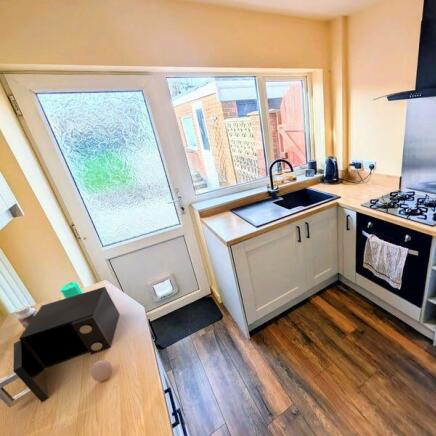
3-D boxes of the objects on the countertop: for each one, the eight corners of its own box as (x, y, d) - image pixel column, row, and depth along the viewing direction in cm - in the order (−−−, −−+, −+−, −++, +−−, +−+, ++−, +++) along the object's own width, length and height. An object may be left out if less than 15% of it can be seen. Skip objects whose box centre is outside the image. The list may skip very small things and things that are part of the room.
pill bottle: (24, 333, 99) (10, 315, 95) (28, 324, 103) (15, 307, 99) (41, 326, 101) (28, 309, 97) (45, 318, 106) (32, 301, 101)
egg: (108, 384, 76) (99, 370, 73) (92, 386, 76) (82, 372, 73) (119, 368, 80) (110, 354, 77) (103, 369, 80) (94, 356, 78)
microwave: (110, 349, 87) (91, 318, 81) (40, 375, 81) (14, 344, 75) (119, 314, 103) (104, 286, 97) (62, 334, 96) (41, 305, 90)
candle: (79, 309, 109) (66, 288, 104) (68, 308, 110) (54, 287, 105) (91, 299, 114) (79, 278, 109) (80, 299, 115) (68, 278, 110)
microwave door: (14, 420, 69) (-19, 388, 63) (14, 387, 78) (-14, 357, 72) (48, 398, 74) (21, 366, 67) (45, 370, 82) (20, 339, 76)
